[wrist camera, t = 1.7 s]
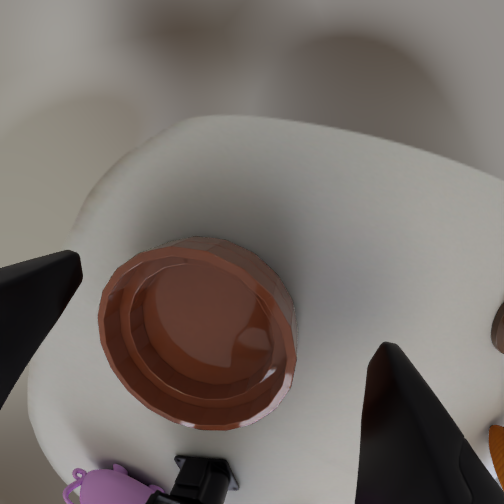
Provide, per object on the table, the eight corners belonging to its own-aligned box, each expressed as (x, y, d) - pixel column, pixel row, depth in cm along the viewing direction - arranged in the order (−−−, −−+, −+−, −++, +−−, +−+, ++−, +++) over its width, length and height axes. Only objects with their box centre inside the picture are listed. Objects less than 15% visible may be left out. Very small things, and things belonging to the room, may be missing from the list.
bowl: (308, 386, 23) (308, 426, 18) (160, 393, 25) (138, 424, 21) (277, 218, 21) (271, 225, 16) (112, 253, 23) (75, 267, 18)
